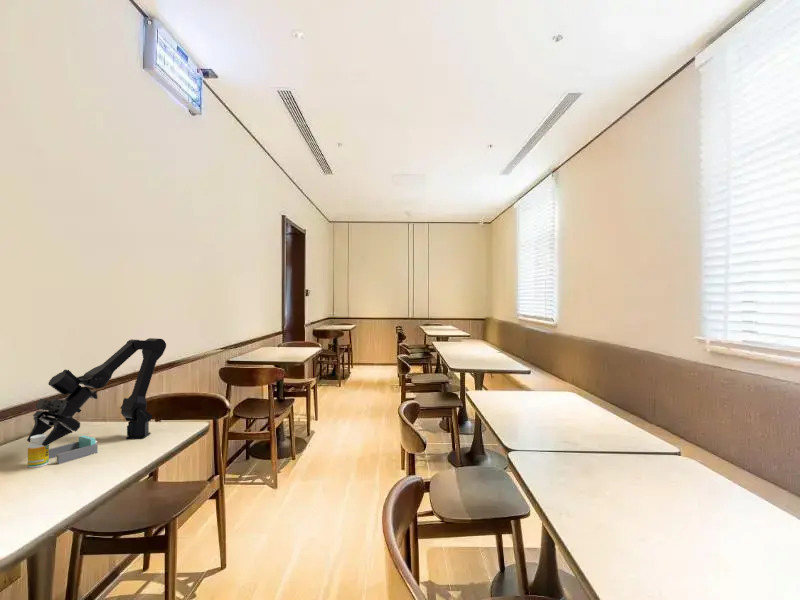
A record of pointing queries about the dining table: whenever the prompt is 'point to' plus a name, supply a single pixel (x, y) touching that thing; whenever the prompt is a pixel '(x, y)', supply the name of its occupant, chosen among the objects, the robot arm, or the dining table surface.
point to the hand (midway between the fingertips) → (35, 443)
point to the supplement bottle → (38, 452)
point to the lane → (74, 449)
